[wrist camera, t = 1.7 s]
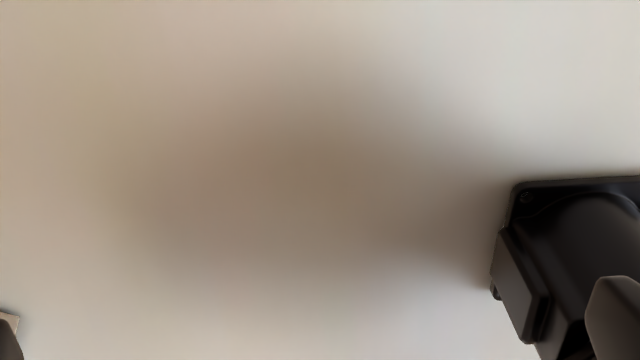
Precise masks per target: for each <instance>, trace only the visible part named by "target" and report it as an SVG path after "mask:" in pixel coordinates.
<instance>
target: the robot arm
mask: <svg viewBox="0 0 640 360" xmlns="http://www.w3.org/2000/svg"><path fill="white" fill-rule="evenodd" d="M527 192H528V194H527V195H525V196H523V197H521V195H522V194H524V193H527ZM490 275H491V277H492V282H491V286H490V291H491V293H492V295H493V297H494V298H495V299H496V300H499V301H503V304H504V306H505V308H506V310H507V312H508V315H509V317H510V319H511V321H512V323H513V326H514V328H515V330H516V332H517V334H518V337H519V339H520V340H521V341H522V342H523V343H524V344H534V346H535V348H536V350H537V352H538V354H539V356H540V358H541V360H640V176H626V177H607V178H588V179H569V180H550V181H531V182H522V183H519V184H517V185H516V186H515V187H514V188H513V189H512V191H511V195H510V200H509V204H508V209H507V213H506V218H505V222H504V227H502V228H501V230H500V231H499V232H498V236H497V241H496V245H495V250H494V255H493V259H492V264H491V269H490ZM0 360H24V356H23V353H22V350H21V348H20V346H19V344H18V342H17V339H16V337H15V335H14V333H13V331H12V329H11V326H10V324H9V323H8V322H7V321H6V320H5V319H1V318H0Z"/></svg>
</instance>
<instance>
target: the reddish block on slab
mask: <svg viewBox="0 0 640 360" xmlns="http://www.w3.org/2000/svg"><path fill="white" fill-rule="evenodd" d="M0 318H1V319H5V320H6V321H7V322H8V323H9V324H10V326H11V329H12V331H13V333H14V335H15V336H16V331H17V327H18V322H19V317H18V316H14V315H10V314H6V313H2V312H0Z"/></svg>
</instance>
